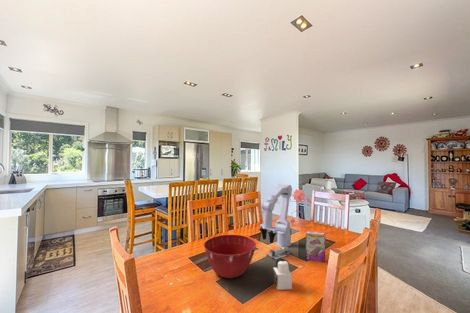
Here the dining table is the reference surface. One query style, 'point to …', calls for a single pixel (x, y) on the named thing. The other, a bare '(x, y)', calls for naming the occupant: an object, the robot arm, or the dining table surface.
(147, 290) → the dining table surface
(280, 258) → the plate
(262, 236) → the robot arm
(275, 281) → the medicine bottle
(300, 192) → the figurine
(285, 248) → the door handle
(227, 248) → the mixing bowl
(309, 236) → the candy bar box
